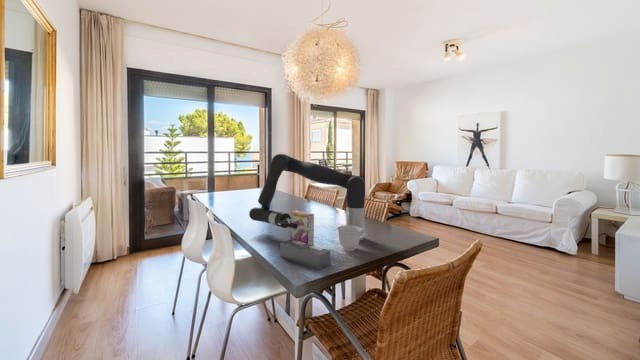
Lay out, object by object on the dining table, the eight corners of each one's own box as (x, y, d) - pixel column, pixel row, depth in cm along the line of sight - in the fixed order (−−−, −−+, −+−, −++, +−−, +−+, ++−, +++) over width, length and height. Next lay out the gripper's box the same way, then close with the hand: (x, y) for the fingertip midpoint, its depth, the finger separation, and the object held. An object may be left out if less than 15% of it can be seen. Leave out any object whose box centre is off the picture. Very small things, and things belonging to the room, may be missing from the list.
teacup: (371, 252, 130) (372, 230, 129) (341, 254, 125) (342, 233, 124) (360, 243, 141) (361, 224, 140) (332, 246, 137) (333, 226, 136)
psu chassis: (291, 251, 128) (291, 238, 128) (330, 264, 115) (330, 249, 114) (280, 256, 123) (280, 242, 122) (319, 270, 109) (319, 254, 109)
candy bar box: (289, 244, 138) (289, 212, 136) (296, 242, 142) (296, 210, 140) (307, 249, 132) (308, 215, 130) (314, 246, 136) (314, 213, 134)
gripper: (269, 214, 139) (292, 219, 129) (289, 209, 150) (312, 214, 141) (269, 229, 140) (292, 235, 130) (289, 223, 151) (312, 229, 141)
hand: (302, 224), depth 135 cm, fingers open, 8 cm apart
